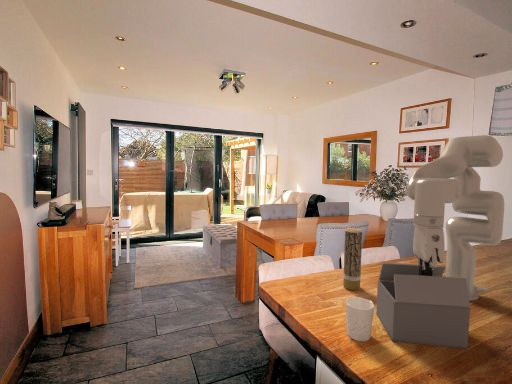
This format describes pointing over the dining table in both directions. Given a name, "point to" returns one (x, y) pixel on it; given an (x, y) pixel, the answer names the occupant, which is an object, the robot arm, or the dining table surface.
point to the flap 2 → (431, 290)
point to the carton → (421, 320)
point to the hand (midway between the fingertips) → (424, 282)
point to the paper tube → (352, 258)
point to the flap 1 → (404, 270)
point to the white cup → (359, 318)
